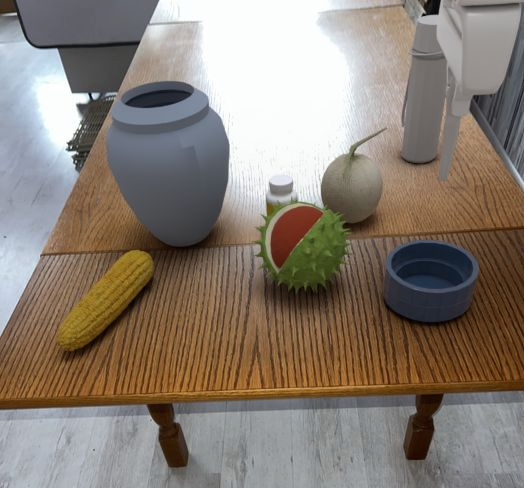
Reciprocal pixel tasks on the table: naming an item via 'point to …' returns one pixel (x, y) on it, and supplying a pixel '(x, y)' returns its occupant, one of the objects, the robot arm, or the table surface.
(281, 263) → the chestnut
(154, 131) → the vase
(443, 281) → the bowl
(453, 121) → the pen
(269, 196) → the supplement bottle
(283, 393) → the table surface
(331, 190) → the fruit
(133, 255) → the food
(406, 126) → the water bottle
